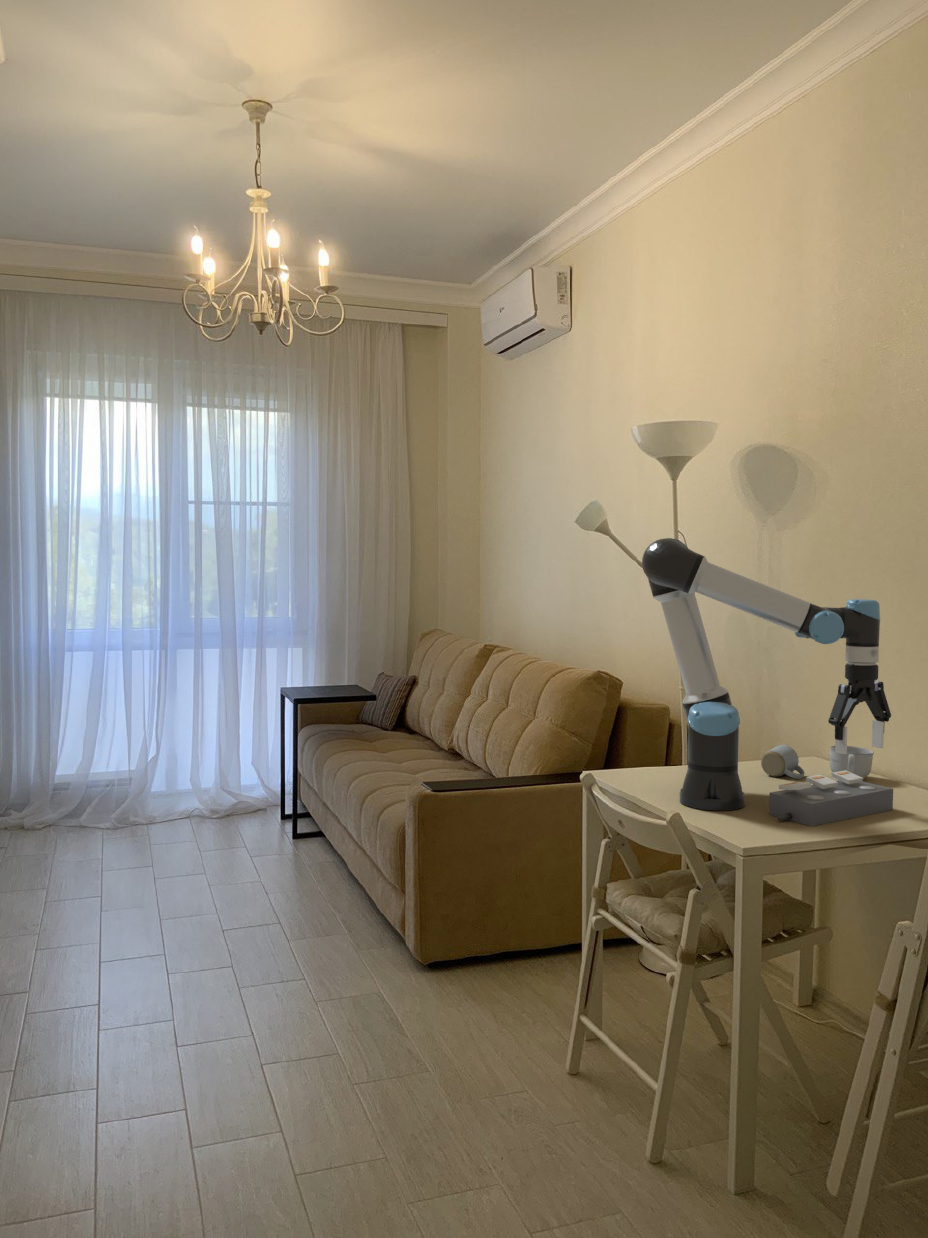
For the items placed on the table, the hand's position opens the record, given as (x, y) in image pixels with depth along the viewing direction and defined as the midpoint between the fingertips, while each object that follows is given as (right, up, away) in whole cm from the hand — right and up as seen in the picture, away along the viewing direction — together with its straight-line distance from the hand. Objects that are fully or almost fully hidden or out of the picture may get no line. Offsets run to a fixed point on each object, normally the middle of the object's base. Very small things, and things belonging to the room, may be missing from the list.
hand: (859, 750), depth 248 cm
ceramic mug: (-10, -10, +26) cm, 30 cm away
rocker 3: (-5, -6, -5) cm, 9 cm away
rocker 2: (-13, -6, -10) cm, 17 cm away
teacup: (+6, -11, +22) cm, 25 cm away
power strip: (-13, -13, -13) cm, 22 cm away
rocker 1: (-20, -7, -14) cm, 26 cm away
